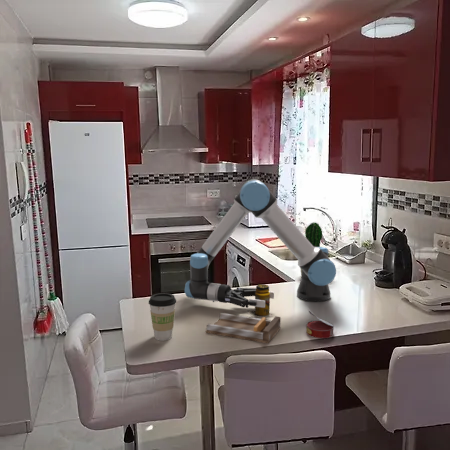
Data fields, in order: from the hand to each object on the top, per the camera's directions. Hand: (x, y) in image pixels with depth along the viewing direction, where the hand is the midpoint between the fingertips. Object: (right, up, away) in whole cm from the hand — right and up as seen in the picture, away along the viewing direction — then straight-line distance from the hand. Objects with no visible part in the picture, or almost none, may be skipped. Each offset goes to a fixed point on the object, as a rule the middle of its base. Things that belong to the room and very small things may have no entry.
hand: (269, 299), depth 182 cm
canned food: (+17, -10, -16) cm, 25 cm away
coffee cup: (-40, -10, -20) cm, 46 cm away
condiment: (-4, -7, +3) cm, 8 cm away
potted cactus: (+28, +2, +56) cm, 63 cm away
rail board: (-11, -9, -14) cm, 20 cm away
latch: (-5, -8, -17) cm, 20 cm away
